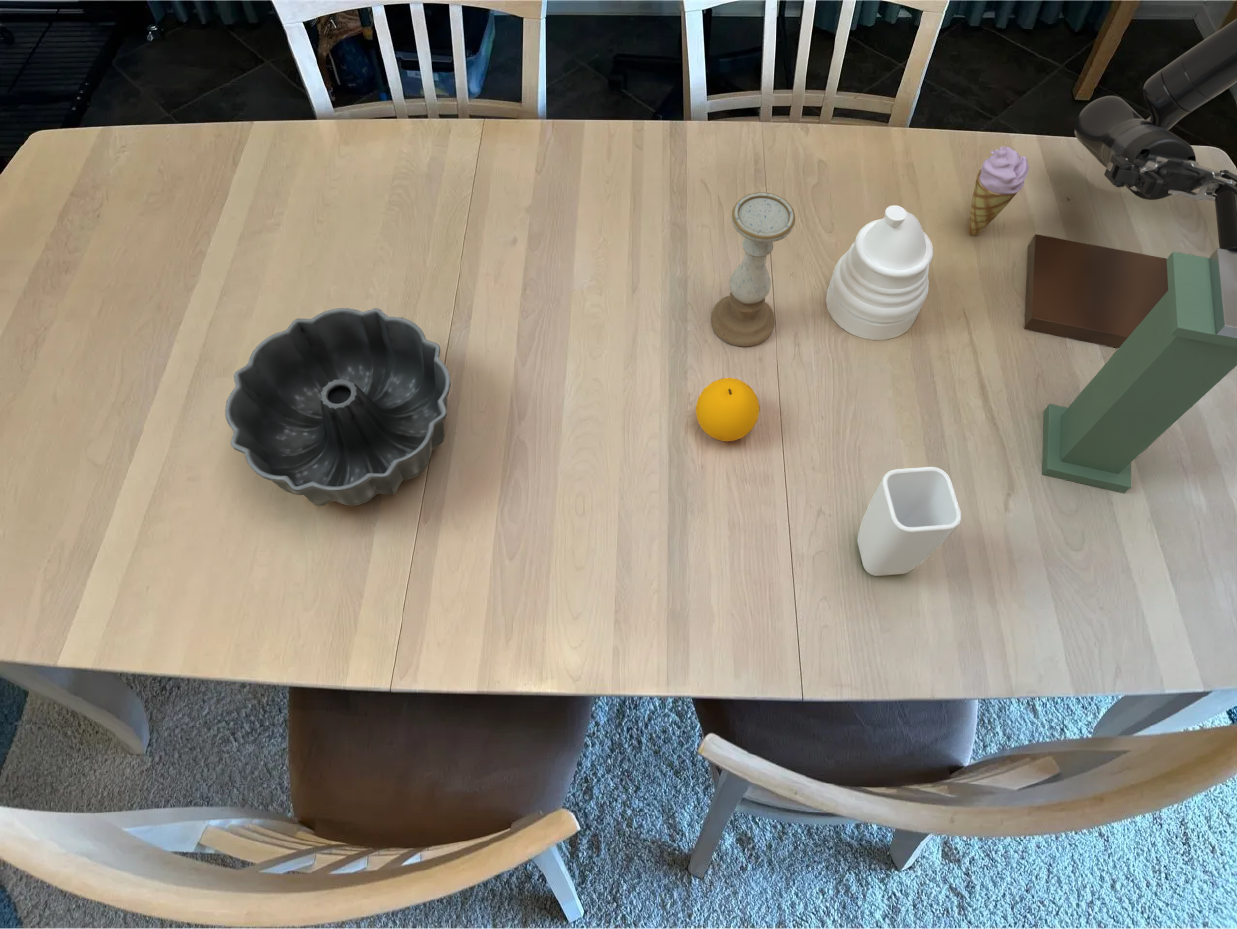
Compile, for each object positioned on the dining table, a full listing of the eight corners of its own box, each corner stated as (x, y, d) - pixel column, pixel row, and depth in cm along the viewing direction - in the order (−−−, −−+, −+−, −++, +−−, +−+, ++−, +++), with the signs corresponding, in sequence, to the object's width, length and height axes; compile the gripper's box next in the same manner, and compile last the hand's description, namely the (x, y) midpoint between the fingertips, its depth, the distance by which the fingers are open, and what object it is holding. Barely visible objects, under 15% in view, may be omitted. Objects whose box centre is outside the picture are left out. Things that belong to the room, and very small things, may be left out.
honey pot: (856, 352, 115) (894, 260, 99) (808, 286, 120) (837, 189, 105) (935, 321, 117) (984, 227, 102) (885, 258, 123) (923, 159, 107)
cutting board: (1170, 272, 122) (1180, 260, 119) (1175, 359, 114) (1186, 348, 112) (1028, 245, 124) (1035, 233, 122) (1024, 329, 117) (1031, 317, 114)
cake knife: (1236, 207, 87) (1247, 194, 86) (1251, 341, 79) (1264, 329, 77) (1203, 201, 88) (1214, 188, 86) (1215, 334, 79) (1227, 322, 78)
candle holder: (720, 352, 115) (738, 246, 97) (704, 303, 119) (718, 193, 101) (781, 341, 116) (811, 234, 98) (763, 293, 120) (788, 182, 102)
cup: (920, 580, 99) (966, 527, 86) (859, 584, 98) (895, 532, 85) (905, 524, 102) (947, 464, 89) (846, 528, 102) (879, 469, 89)
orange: (717, 460, 107) (723, 429, 100) (682, 415, 110) (686, 383, 103) (767, 431, 109) (776, 399, 102) (731, 388, 112) (738, 355, 105)
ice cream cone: (948, 214, 127) (986, 131, 114) (990, 214, 127) (1032, 132, 114) (956, 247, 124) (995, 166, 111) (998, 247, 124) (1043, 167, 111)
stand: (1123, 427, 109) (1279, 270, 83) (1124, 493, 104) (1290, 349, 78) (1043, 410, 110) (1172, 250, 84) (1041, 474, 105) (1177, 327, 80)
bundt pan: (455, 340, 116) (441, 292, 107) (472, 509, 103) (458, 470, 95) (260, 367, 114) (230, 321, 105) (253, 543, 101) (218, 507, 93)
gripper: (1104, 121, 106) (1145, 151, 92) (1223, 138, 104) (1282, 171, 91) (1079, 181, 110) (1116, 218, 97) (1193, 199, 108) (1246, 239, 95)
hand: (1196, 195), depth 94 cm, fingers open, 8 cm apart
